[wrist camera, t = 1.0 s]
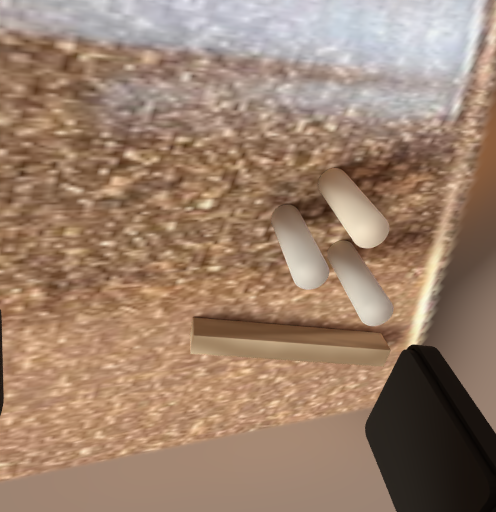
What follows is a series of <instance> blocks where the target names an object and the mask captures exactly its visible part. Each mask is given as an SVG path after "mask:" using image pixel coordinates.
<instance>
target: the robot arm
mask: <svg viewBox="0 0 496 512" xmlns="http://www.w3.org/2000/svg"><path fill="white" fill-rule="evenodd" d="M3 399H4V396H3V358H2V320H1V310H0V415H1V412H2V407H3ZM365 432H366V437H367V439H368V442H369V444H370V447H371V449H372V452H373V454H374V457H375V459H376V462H377V464H378V467H379V469H380V472H381V474H382V477H383V479H384V482H385V484H386V487H387V489H388V491H389V494H390V496H391V499H392V501H393V504H394V506H395V509H396V511H397V512H496V433H495V432H494V431H493V429H492V428H491V426H490V425H489V423H488V422H487V421H486V419H485V417H484V416H483V415H482V413H481V412H480V410H479V409H478V407H477V406H476V404H475V403H474V401H473V400H472V398H471V397H470V396H469V394H468V393H467V391H466V390H465V388H464V387H463V385H462V384H461V382H460V381H459V380H458V378H457V377H456V375H455V374H454V372H453V371H452V369H451V368H450V366H449V365H448V364H447V362H446V361H445V359H444V358H443V357H442V355H441V354H440V352H439V351H438V350H437V348H435V347H432V346H423V345H411V346H409V347H408V348H407V350H403V351H402V352H401V354H400V356H399V358H398V360H397V362H396V364H395V366H394V368H393V370H392V372H391V374H390V376H389V378H388V380H387V382H386V384H385V386H384V388H383V390H382V392H381V394H380V396H379V398H378V400H377V402H376V404H375V406H374V408H373V410H372V412H371V413H370V415H369V418H368V420H367V422H366V426H365Z"/></svg>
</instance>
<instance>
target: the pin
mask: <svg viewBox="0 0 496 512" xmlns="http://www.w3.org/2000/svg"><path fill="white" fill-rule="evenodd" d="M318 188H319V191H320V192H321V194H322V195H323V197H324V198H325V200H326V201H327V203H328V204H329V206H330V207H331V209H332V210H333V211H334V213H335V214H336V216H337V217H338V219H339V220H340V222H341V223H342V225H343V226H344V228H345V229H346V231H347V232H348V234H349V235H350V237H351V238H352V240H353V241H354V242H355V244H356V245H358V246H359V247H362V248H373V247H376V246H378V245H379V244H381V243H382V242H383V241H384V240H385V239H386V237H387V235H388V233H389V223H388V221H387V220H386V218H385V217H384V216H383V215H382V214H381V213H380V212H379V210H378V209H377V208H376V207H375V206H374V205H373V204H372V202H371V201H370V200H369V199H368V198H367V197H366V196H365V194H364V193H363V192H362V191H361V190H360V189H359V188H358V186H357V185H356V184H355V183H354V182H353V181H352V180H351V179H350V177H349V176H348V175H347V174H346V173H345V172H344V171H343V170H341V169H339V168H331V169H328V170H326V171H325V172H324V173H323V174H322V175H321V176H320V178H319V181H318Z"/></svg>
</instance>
